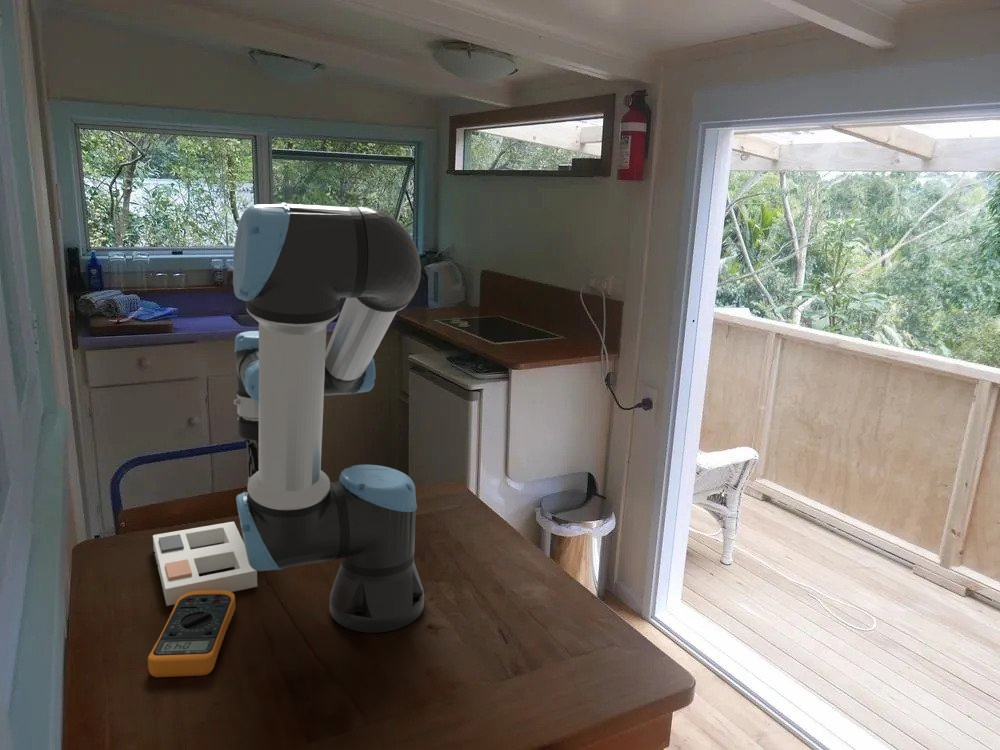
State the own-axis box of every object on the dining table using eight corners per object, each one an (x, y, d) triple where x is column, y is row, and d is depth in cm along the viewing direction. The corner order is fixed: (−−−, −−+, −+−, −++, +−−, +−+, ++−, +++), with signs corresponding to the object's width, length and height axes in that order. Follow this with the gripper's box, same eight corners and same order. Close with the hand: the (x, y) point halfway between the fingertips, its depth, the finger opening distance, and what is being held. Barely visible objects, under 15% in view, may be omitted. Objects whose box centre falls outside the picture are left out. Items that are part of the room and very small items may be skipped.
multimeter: (238, 606, 119) (238, 587, 118) (212, 679, 101) (211, 657, 101) (182, 607, 117) (181, 588, 117) (146, 681, 100) (144, 660, 99)
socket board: (257, 586, 124) (256, 567, 123) (166, 605, 117) (165, 586, 116) (234, 535, 141) (233, 519, 140) (153, 550, 134) (152, 532, 133)
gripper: (228, 403, 142) (233, 514, 148) (248, 432, 127) (252, 554, 133) (268, 399, 146) (271, 507, 151) (291, 427, 131) (294, 546, 136)
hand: (262, 529), depth 142 cm, fingers closed on box, 5 cm apart
